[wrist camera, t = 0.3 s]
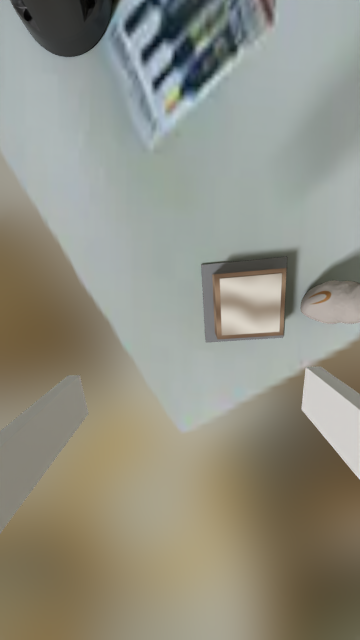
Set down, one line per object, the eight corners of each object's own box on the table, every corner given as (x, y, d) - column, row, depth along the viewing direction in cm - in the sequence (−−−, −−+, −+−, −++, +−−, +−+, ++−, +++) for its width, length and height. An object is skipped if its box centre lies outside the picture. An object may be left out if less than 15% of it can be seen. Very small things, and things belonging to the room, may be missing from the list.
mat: (201, 264, 36) (201, 264, 35) (286, 256, 34) (287, 256, 34) (205, 341, 39) (205, 342, 39) (282, 336, 38) (283, 337, 38)
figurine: (347, 309, 36) (454, 332, 22) (295, 324, 37) (363, 355, 23) (342, 266, 34) (455, 259, 20) (288, 283, 35) (356, 288, 21)
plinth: (212, 274, 35) (215, 274, 31) (275, 268, 35) (287, 267, 30) (214, 332, 38) (217, 339, 34) (273, 328, 37) (283, 335, 33)
